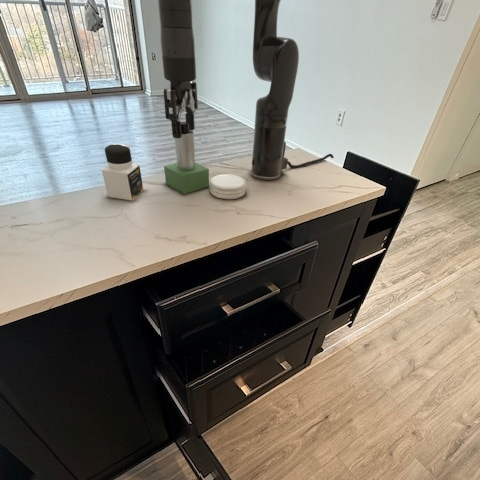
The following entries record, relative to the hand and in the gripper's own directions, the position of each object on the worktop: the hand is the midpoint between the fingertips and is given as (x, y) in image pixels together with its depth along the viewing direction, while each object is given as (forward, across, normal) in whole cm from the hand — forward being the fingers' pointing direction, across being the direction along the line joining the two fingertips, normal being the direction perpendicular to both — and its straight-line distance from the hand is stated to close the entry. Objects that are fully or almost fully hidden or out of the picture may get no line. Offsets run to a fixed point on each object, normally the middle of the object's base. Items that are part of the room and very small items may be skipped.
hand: (184, 133), depth 84 cm
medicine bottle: (+14, -12, +13) cm, 22 cm away
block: (+14, 0, 0) cm, 14 cm away
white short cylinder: (+14, 0, -12) cm, 19 cm away
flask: (+8, 0, 0) cm, 9 cm away
